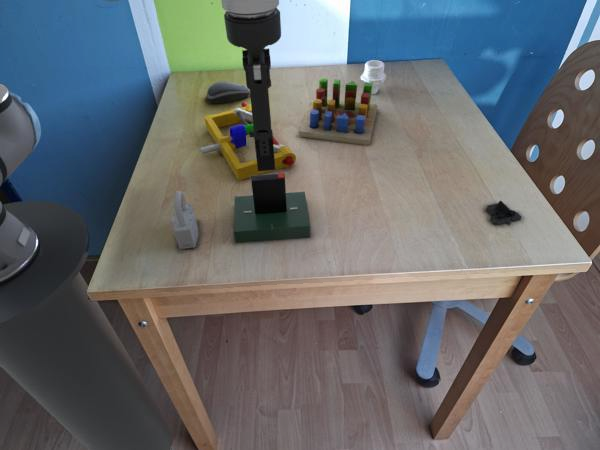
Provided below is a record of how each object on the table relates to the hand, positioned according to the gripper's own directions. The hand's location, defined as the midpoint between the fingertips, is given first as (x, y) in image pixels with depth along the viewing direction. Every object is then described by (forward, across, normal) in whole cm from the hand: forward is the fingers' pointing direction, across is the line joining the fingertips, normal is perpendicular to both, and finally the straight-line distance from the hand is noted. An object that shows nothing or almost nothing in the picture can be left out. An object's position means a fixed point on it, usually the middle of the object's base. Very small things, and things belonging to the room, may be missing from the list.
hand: (264, 145), depth 71 cm
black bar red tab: (+14, 0, 0) cm, 14 cm away
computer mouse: (+18, +53, +10) cm, 56 cm away
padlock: (+18, -2, +16) cm, 24 cm away
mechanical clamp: (+18, +28, +7) cm, 33 cm away
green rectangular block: (+17, 0, 0) cm, 17 cm away
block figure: (+18, -4, -45) cm, 49 cm away
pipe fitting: (+18, +50, -31) cm, 62 cm away
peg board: (+18, +34, -19) cm, 43 cm away
